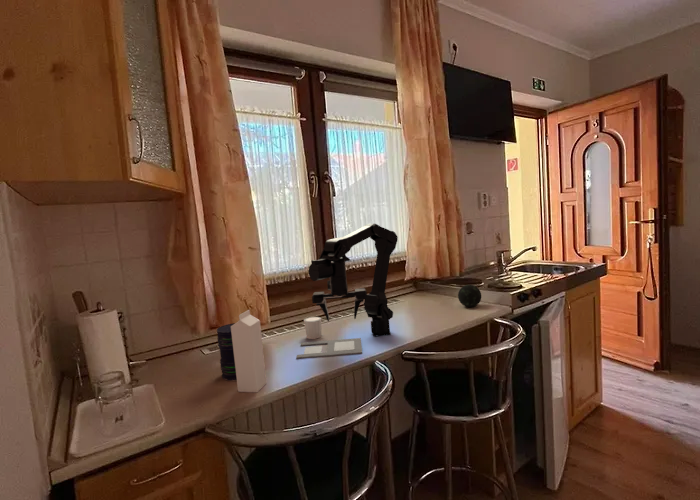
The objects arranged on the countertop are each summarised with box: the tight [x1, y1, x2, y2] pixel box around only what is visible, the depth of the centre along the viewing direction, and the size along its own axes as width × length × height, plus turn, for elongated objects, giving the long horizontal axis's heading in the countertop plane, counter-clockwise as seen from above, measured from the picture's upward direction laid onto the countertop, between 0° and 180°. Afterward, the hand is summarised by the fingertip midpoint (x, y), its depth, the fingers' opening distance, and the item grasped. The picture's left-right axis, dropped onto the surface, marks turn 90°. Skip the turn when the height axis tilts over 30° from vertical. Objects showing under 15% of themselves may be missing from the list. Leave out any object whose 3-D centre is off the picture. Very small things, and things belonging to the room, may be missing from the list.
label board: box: [296, 337, 363, 360], centre depth 145 cm, size 22×15×1 cm
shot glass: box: [303, 316, 322, 340], centre depth 160 cm, size 7×7×7 cm
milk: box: [231, 309, 267, 393], centre depth 117 cm, size 6×6×22 cm
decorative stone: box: [457, 284, 482, 308], centre depth 185 cm, size 10×10×10 cm
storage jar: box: [216, 322, 237, 382], centre depth 128 cm, size 10×10×15 cm
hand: (341, 319), depth 144 cm, fingers open, 9 cm apart
